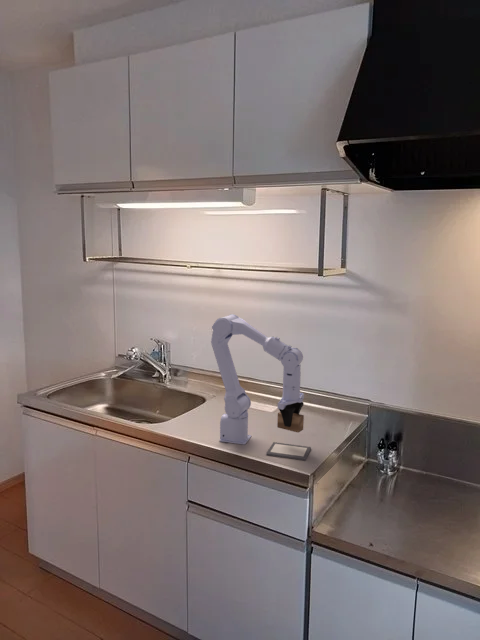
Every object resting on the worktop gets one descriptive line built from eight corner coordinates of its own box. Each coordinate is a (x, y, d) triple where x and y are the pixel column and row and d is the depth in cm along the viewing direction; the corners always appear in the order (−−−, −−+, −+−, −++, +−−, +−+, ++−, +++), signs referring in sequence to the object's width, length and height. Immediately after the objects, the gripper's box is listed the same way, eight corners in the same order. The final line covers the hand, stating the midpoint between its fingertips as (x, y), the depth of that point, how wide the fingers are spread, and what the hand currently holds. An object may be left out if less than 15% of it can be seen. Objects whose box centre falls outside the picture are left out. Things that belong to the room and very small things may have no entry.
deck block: (298, 432, 170) (298, 418, 169) (277, 427, 174) (277, 413, 173) (303, 429, 172) (303, 415, 172) (282, 424, 177) (282, 410, 176)
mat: (266, 455, 168) (266, 453, 168) (273, 443, 178) (273, 441, 178) (305, 460, 165) (305, 458, 165) (310, 448, 174) (310, 446, 174)
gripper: (291, 392, 163) (290, 433, 165) (312, 382, 174) (311, 420, 177) (272, 388, 167) (271, 428, 169) (294, 378, 178) (292, 416, 181)
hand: (290, 424), depth 173 cm, fingers closed on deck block, 3 cm apart
